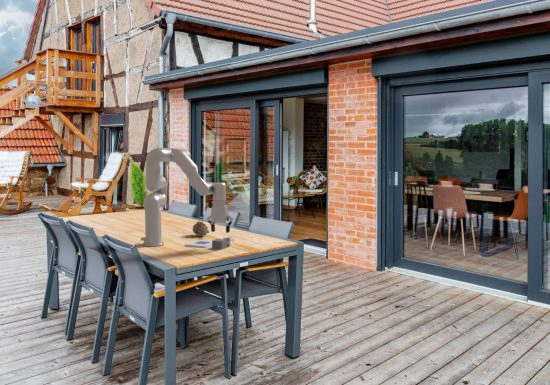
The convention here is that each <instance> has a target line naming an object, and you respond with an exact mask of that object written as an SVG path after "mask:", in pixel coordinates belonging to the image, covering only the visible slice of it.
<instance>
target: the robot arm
mask: <svg viewBox="0 0 550 385" xmlns="http://www.w3.org/2000/svg"><path fill="white" fill-rule="evenodd" d="M191 158H192V155H191V153H190V151H189V150H187V149H184V148H172V147H155V148H153V149H151V150H150V151H149V152H148V153H147V154H146V158H145V187H146V189H147V190H148V191H151V192H152V193H148V194H146V196H145V197H144V198H143V202H142V203H143V210H144V225H145V226H144V230H145V231H144V232H145V234H144V236H142V237H141V238H140V241H141V242H142V241H143V242H142V246H144V247H161V246H163V245H165V242H164V241H162V213H161V209H160V208H163V207H165V205H166V203H167V200H168V182H167V179H166V178H165V176H163V175H161V166H160V165H161V164H160V163H162V162H166V163H167V162H168V163H175V164H176V166H177V167H178V168H179V169H180V170H181V171H182V172H183V173H184V174H185V176H186V178H187V180H188V183H189V184H190V186H191V187H192V188H193V189H194V190H195V191H196V193H198V194H199V195H200V196H201V197H202V196H204V197H205V196H210V195H212V199H213V200H212V201H211V204H212V205H211V211H210V216H208V217H206V220H207V222H208V224H209V225H210V230H211V233H214V232H216V224H225V234H228V233H230V231H231V225H232V224H233V222H234V220H235V219H234V217H232V216H231V215H229V213H230V212H229V208H228V205H227V188H226V183H225V182H211V181H207V182H205V181H204V180H203V179H202V177H201V176H200V174H199V173H198V169H199V168H198V165H197V164H196V163H195V162H194V161H193V160H192V159H191ZM229 220H230V221H229Z"/></svg>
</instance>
